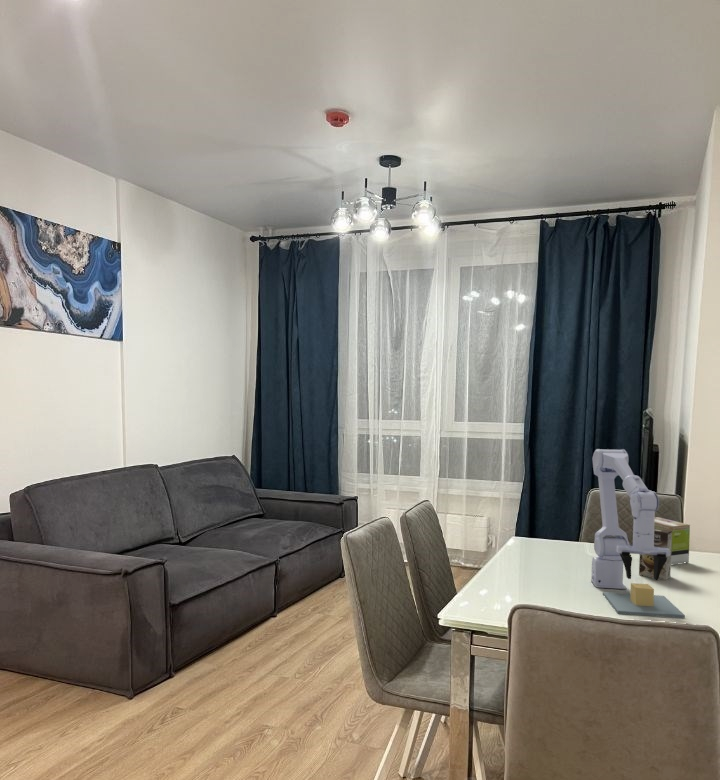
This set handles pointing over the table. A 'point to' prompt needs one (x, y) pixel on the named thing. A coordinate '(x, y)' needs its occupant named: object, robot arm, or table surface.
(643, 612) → the slate mat
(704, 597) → the table surface
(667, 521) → the tea box
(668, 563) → the coffee box
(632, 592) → the mustard cube
